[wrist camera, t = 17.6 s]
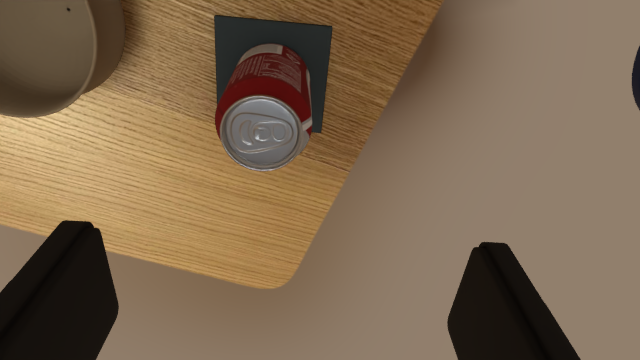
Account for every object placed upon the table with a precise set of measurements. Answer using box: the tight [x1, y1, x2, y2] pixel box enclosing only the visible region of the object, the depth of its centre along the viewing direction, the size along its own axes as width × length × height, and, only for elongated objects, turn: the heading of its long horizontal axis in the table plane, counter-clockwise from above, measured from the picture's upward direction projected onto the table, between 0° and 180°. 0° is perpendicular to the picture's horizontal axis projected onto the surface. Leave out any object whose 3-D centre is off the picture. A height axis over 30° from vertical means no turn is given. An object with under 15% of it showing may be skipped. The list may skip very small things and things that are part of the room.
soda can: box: [215, 43, 312, 171], centre depth 32 cm, size 7×7×12 cm
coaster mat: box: [214, 15, 332, 133], centre depth 38 cm, size 10×10×1 cm
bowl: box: [0, 0, 126, 118], centre depth 30 cm, size 13×13×10 cm
